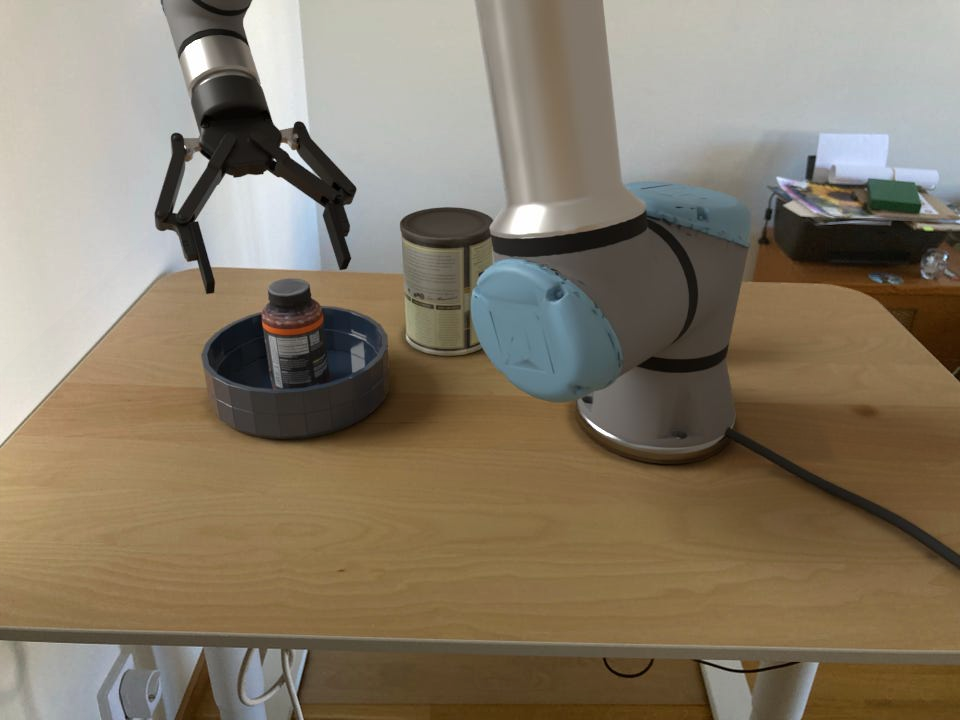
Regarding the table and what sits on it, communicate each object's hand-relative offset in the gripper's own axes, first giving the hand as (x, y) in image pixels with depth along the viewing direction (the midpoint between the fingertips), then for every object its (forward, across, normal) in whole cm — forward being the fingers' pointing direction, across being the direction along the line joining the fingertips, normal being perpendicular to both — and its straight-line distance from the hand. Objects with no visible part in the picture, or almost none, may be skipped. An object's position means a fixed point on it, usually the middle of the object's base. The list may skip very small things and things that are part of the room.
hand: (280, 276), depth 78 cm
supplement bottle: (+10, 0, -6) cm, 12 cm away
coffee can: (+8, -19, -9) cm, 22 cm away
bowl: (+11, 0, -6) cm, 12 cm away
